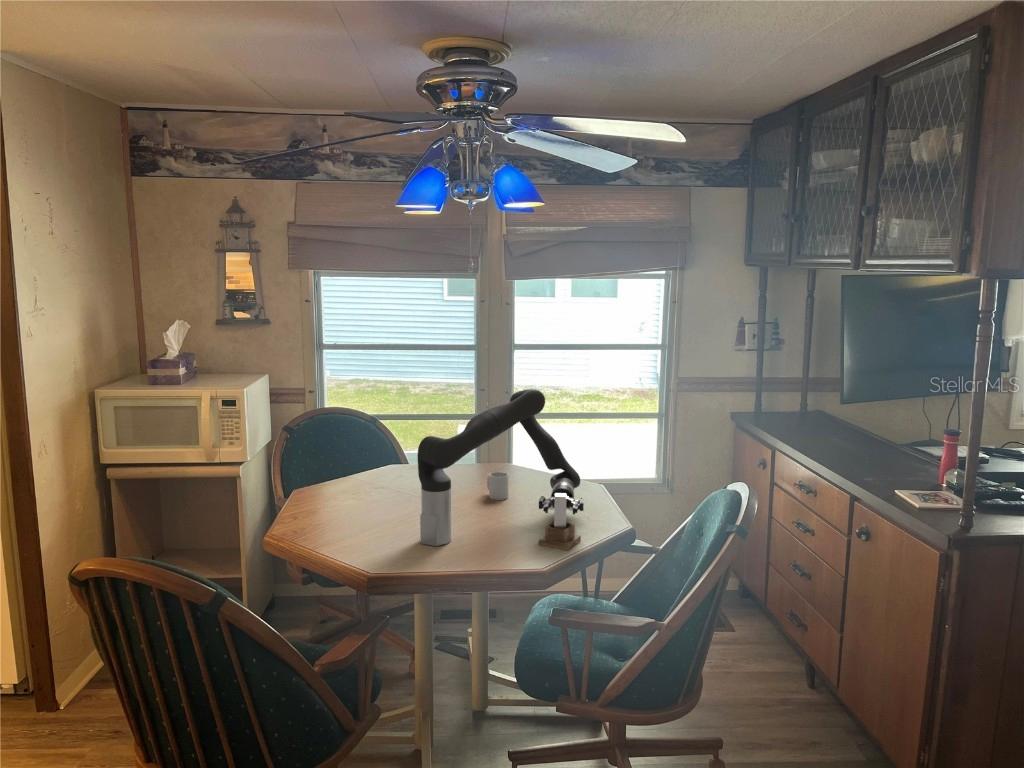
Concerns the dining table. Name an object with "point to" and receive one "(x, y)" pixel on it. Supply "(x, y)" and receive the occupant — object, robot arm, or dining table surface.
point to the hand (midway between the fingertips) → (560, 510)
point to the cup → (498, 485)
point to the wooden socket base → (560, 537)
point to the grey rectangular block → (560, 511)
